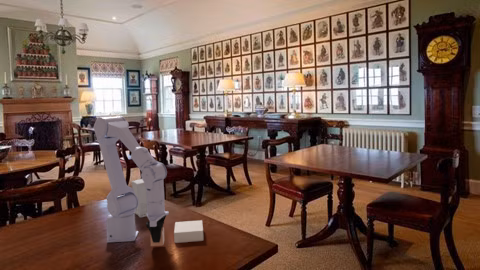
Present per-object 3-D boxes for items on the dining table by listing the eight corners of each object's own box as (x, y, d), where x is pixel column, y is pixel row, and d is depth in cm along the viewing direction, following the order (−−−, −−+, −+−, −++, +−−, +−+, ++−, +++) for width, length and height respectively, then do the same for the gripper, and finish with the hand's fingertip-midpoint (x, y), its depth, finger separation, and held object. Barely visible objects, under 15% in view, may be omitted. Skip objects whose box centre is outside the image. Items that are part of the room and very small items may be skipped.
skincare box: (153, 215, 145) (151, 181, 143) (139, 218, 142) (137, 183, 140) (146, 210, 152) (144, 177, 150) (133, 212, 149) (131, 179, 147)
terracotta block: (150, 246, 112) (149, 231, 111) (152, 241, 116) (151, 227, 115) (163, 245, 112) (162, 231, 112) (164, 240, 116) (163, 226, 116)
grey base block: (174, 243, 118) (174, 232, 117) (175, 232, 128) (175, 222, 127) (203, 241, 119) (203, 230, 119) (202, 230, 129) (202, 220, 128)
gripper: (165, 206, 106) (167, 248, 107) (170, 193, 120) (171, 229, 122) (142, 207, 105) (144, 249, 107) (149, 194, 119) (151, 230, 121)
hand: (157, 239), depth 114 cm, fingers closed on terracotta block, 4 cm apart
